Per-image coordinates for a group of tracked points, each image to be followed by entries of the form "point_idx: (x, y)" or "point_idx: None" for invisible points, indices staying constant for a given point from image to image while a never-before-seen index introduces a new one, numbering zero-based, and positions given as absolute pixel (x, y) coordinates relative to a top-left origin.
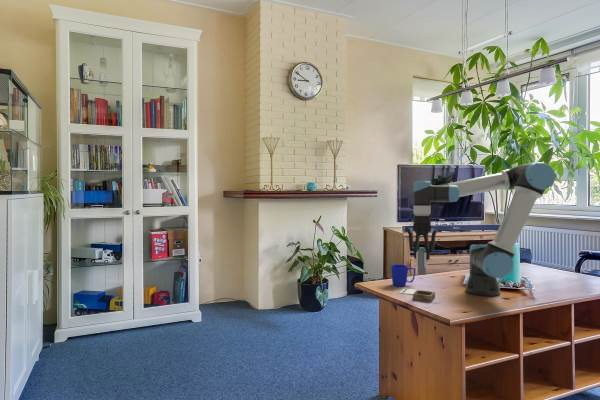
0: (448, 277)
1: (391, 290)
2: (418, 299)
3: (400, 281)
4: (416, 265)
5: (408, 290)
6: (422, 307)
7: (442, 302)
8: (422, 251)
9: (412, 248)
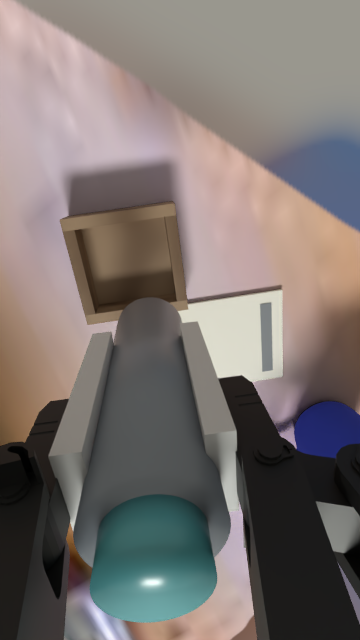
0: (182, 617)
1: (330, 314)
2: (141, 206)
3: (321, 418)
4: (196, 326)
5: (252, 354)
6: (55, 54)
7: (21, 251)
8: (113, 464)
9: (346, 479)
